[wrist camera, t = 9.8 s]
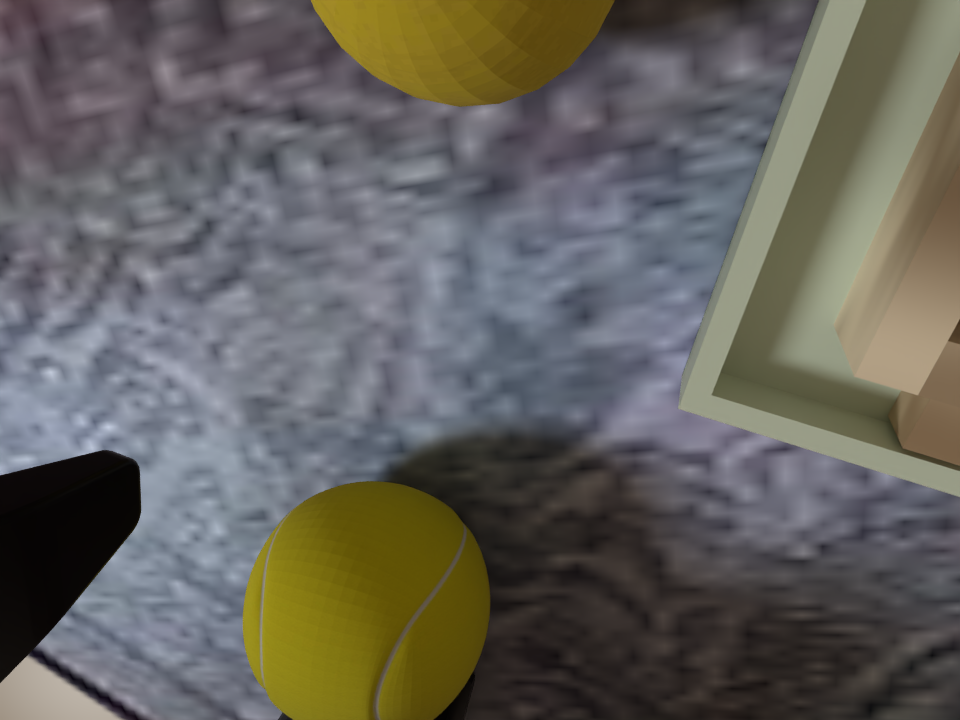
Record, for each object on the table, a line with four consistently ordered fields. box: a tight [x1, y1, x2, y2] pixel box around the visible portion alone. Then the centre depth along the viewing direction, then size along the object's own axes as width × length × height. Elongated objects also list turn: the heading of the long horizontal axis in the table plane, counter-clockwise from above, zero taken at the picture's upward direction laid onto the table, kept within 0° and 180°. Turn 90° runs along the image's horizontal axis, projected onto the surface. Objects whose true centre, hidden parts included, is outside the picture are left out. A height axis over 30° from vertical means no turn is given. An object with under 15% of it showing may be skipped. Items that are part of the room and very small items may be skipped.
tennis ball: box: [243, 481, 490, 720], centre depth 21 cm, size 7×7×7 cm
